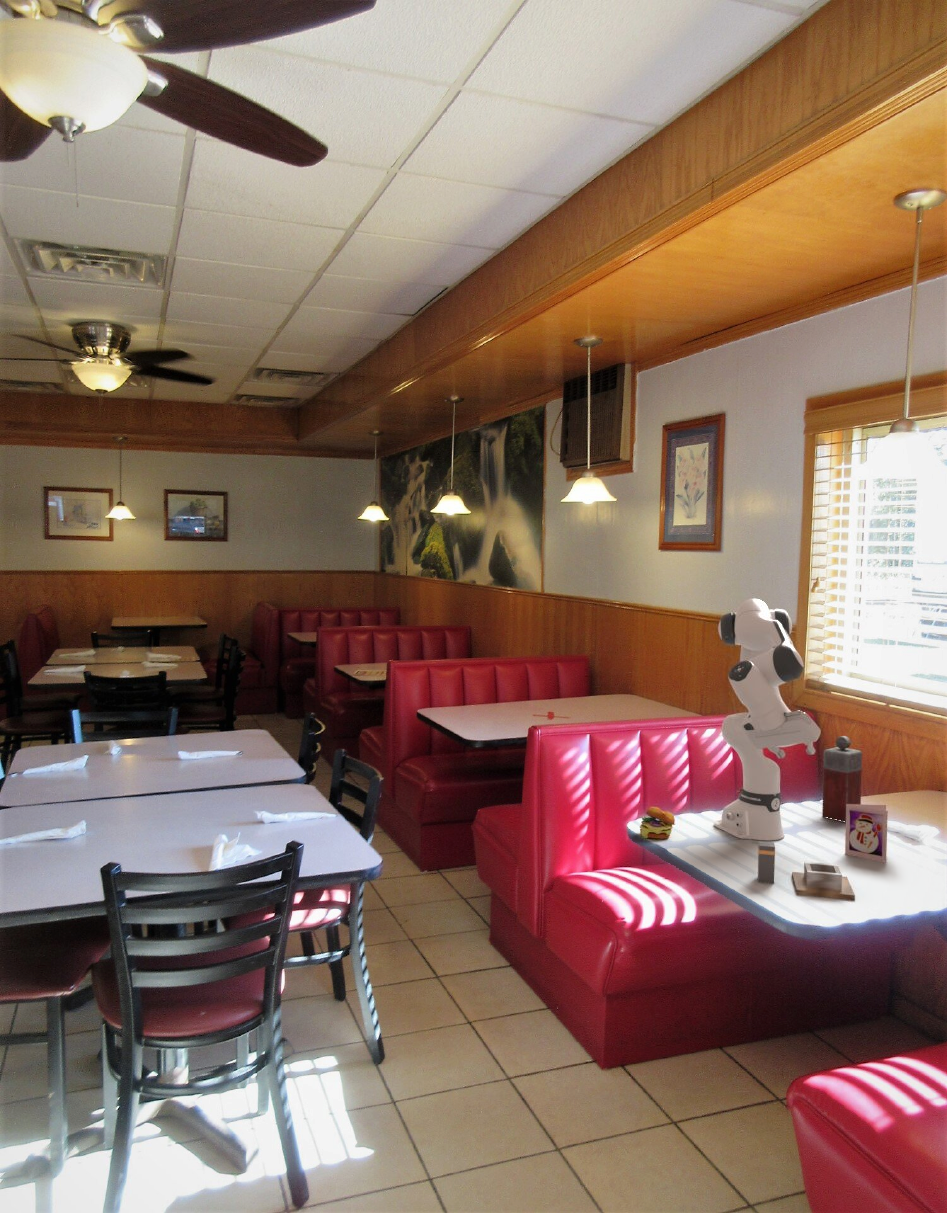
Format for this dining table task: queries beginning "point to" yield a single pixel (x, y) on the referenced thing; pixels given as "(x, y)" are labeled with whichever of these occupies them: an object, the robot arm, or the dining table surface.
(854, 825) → the greeting card
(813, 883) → the holder
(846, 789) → the pepper mill
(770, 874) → the block
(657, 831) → the cheeseburger
